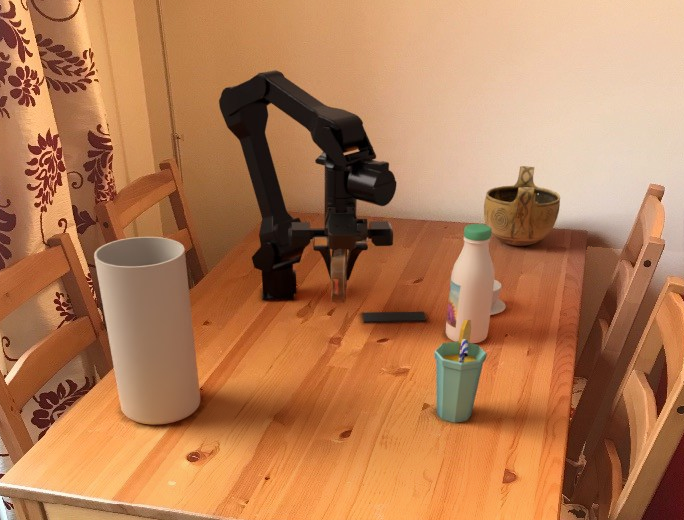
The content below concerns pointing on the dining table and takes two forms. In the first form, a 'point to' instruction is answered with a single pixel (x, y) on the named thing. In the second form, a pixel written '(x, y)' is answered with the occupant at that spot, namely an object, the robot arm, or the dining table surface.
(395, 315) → the strip
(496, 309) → the teacup
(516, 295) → the dining table surface
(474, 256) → the milk bottle
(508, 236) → the ceramic bowl
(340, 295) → the tin
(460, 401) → the cup
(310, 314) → the dining table surface
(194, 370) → the cylinder vase
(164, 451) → the dining table surface
